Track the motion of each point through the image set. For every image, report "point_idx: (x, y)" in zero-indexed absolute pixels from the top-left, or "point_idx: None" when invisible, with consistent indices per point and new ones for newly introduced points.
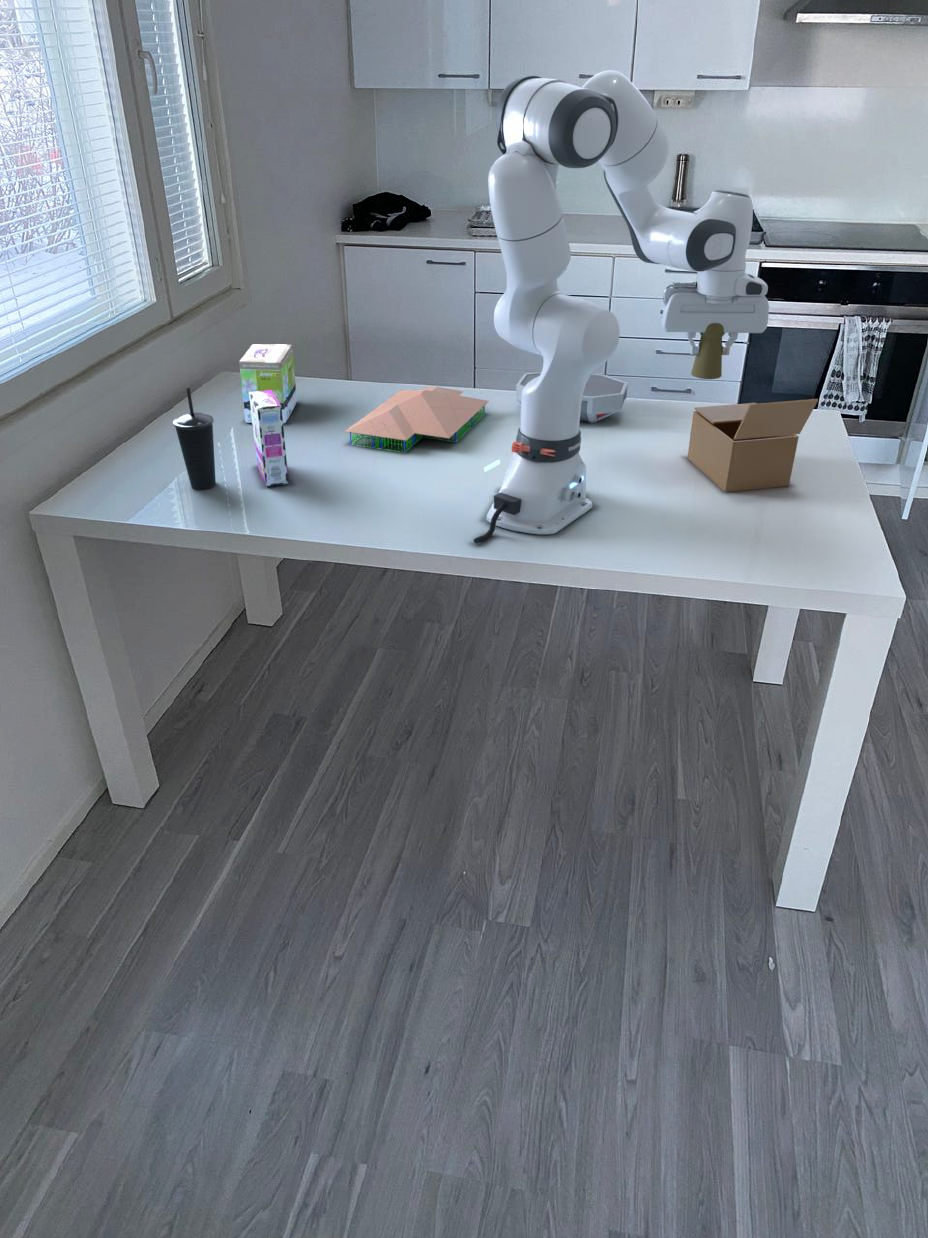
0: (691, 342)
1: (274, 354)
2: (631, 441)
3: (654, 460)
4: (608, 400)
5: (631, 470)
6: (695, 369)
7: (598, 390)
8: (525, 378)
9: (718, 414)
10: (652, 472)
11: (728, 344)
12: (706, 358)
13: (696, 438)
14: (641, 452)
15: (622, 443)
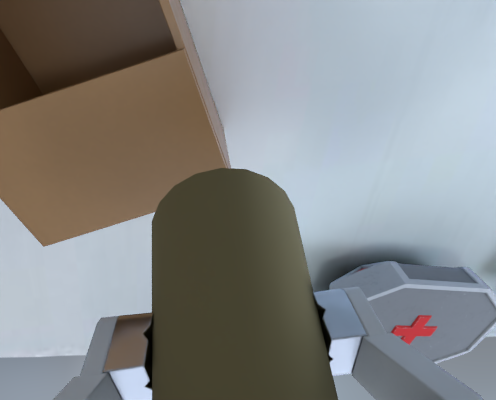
0: (417, 357)
1: None
2: (318, 201)
3: (295, 112)
4: (367, 288)
5: (359, 48)
6: (295, 222)
7: (379, 315)
8: (476, 338)
9: (160, 133)
10: (315, 38)
11: (92, 391)
12: (265, 249)
13: (216, 120)
14: (312, 152)
15: (337, 191)
